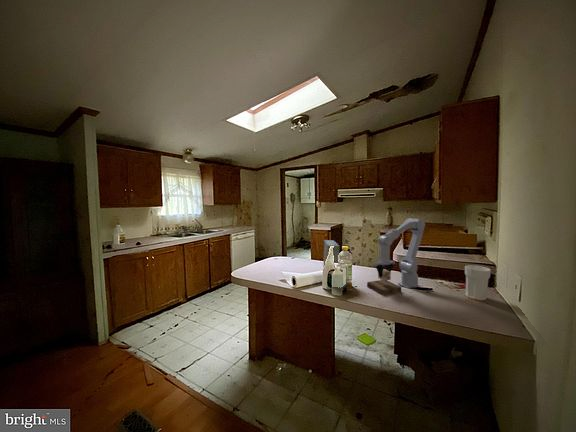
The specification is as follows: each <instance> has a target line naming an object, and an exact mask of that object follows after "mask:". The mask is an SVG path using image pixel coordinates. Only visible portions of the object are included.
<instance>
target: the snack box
mask: <svg viewBox="0 0 576 432" xmlns="http://www.w3.org/2000/svg"><path fill="white" fill-rule="evenodd" d="M330 246H334V261H335V263H338V255H339V256H340V245H339V243H337V242H336V241H335V240H331V239H329V240H328V239H323V262H322V263H323V267H324V265H325V261H326V259H327V256H328V252H329V248H330ZM323 267H322V268H323Z"/></svg>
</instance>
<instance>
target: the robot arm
mask: <svg viewBox="0 0 576 432" xmlns="http://www.w3.org/2000/svg"><path fill="white" fill-rule="evenodd" d="M425 227H426V223H425V220H424V219H422V218H413V217H408V218H407V219H405V220H404V222H403V223H402V224H401V225H399V226H398V227H397V228H391V229H390V231H388V232H387V233H386V232H385V234H384V235H383V234H382V235H380V236H378V239H377V242H378V244H379V260H378V261H374V262H373V267H375V268H376V270H377V275H378V274H379V277H382V272H383V270H384V269H385V270H388V271H390V272H391V271H393V268H394V267H395V264H396V261H395V260H393V259H392V260H391V259H390V254H391V252H390V250H391V248H390V247H391V246H392V244H393V242H394V241H395V240H396V239H398V238H399V237H400V235H401V234H402V233H403V232H405V231H407V230H410V231H411V233H412V235H411V239H410V243H409V245H408V249H407V252H406V255H405V256H403V257H402V258H401V260H400V262H399V263H398V266H399V269H400V271H401V281H400V282H398V284H397V285H399V286H400V285H401V287H404V288H406V289H410V288H417V287H419V286H420V285H419V275H418V273H417V272H418V264H419V263H418V261H417V260H416V258H417V255H418V252H419V248H420V244H421V241H422V238H423V235H424V230H425ZM384 266H385V267H384ZM391 273H392V272H391Z"/></svg>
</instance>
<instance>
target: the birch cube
mask: <svg viewBox="0 0 576 432" xmlns="http://www.w3.org/2000/svg"><path fill="white" fill-rule="evenodd" d="M391 274H392V272H390V271H388V270H386V268H384V269H383V272H382V277H379V274H378V273H377V276H378V279H379V280H383V281H385V280H387V281H390V280H391Z"/></svg>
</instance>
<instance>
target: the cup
mask: <svg viewBox="0 0 576 432" xmlns="http://www.w3.org/2000/svg"><path fill="white" fill-rule="evenodd" d="M491 273H492V270H491V269H490V268H489V267H485V266H481V265H477V264H475V265H474V264H473V265H472V264H467V265H465V266H464V275H465V297H466V298H468V299H470V300H473V301H478V302H484V301H487V295H488V287H489V279H490V278H491Z"/></svg>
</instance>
